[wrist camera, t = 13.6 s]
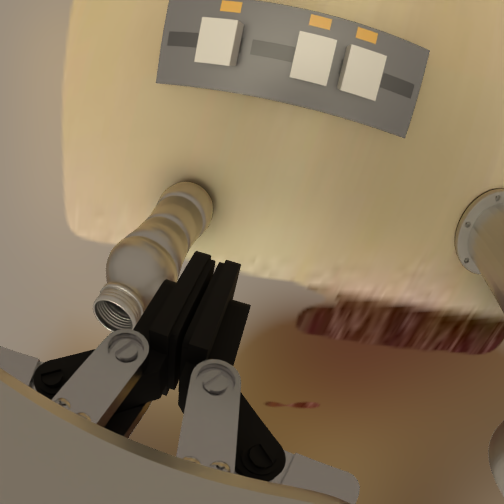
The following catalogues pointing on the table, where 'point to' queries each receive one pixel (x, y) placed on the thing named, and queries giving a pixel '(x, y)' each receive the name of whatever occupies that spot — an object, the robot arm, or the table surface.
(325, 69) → the slider
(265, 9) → the switch deck
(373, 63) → the slider
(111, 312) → the plastic bottle
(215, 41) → the slider
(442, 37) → the table surface
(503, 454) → the robot arm
